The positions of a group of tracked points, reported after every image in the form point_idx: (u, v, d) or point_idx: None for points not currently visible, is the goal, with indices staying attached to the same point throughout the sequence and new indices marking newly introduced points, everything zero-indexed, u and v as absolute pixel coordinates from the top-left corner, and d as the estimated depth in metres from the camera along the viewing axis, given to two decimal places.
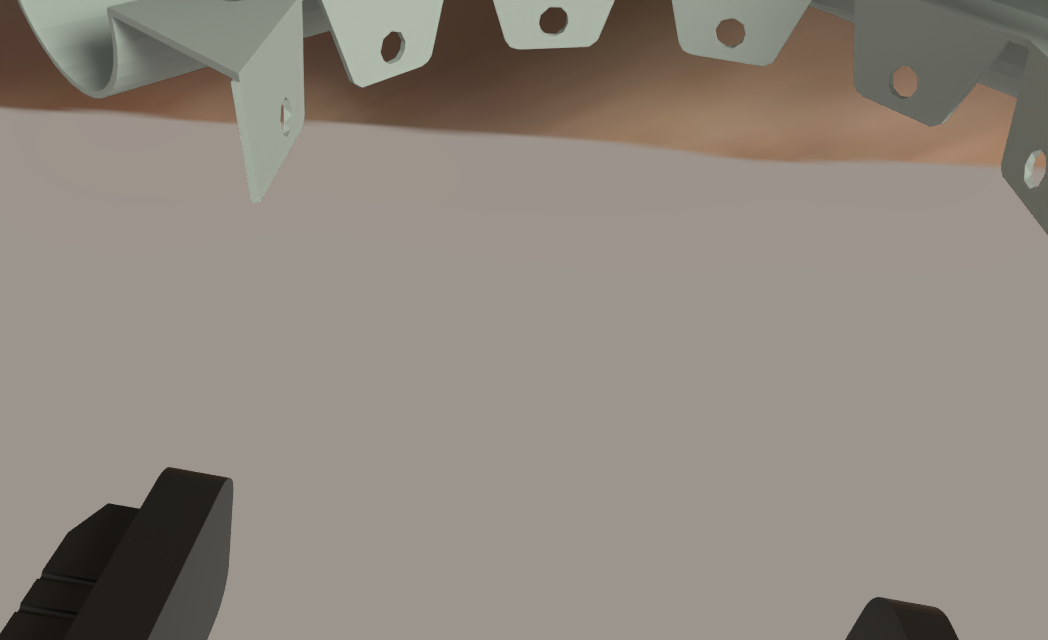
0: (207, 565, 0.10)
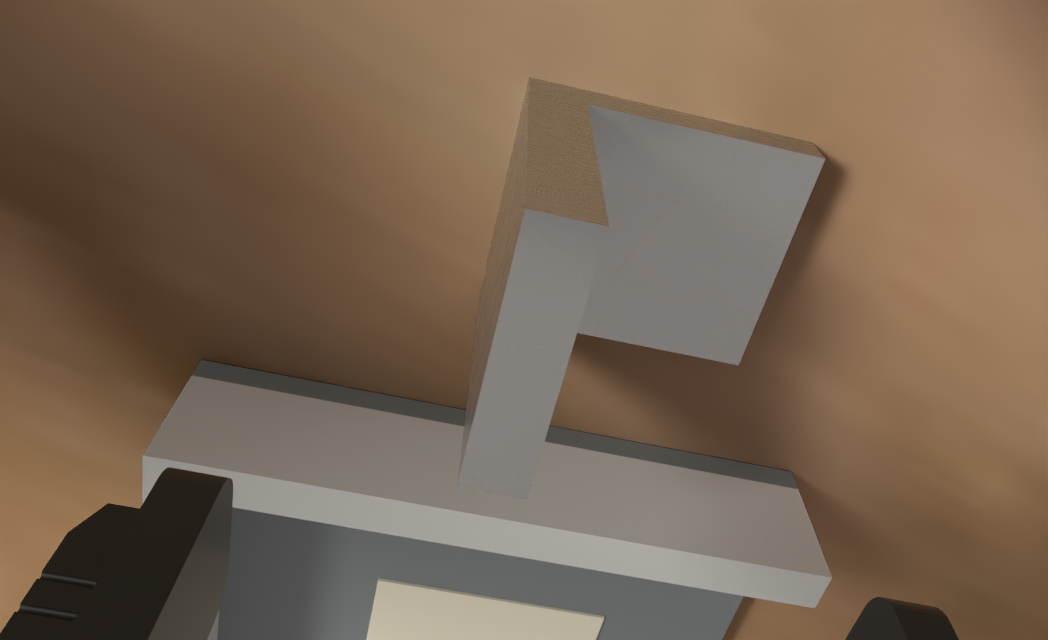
0: (207, 565, 0.10)
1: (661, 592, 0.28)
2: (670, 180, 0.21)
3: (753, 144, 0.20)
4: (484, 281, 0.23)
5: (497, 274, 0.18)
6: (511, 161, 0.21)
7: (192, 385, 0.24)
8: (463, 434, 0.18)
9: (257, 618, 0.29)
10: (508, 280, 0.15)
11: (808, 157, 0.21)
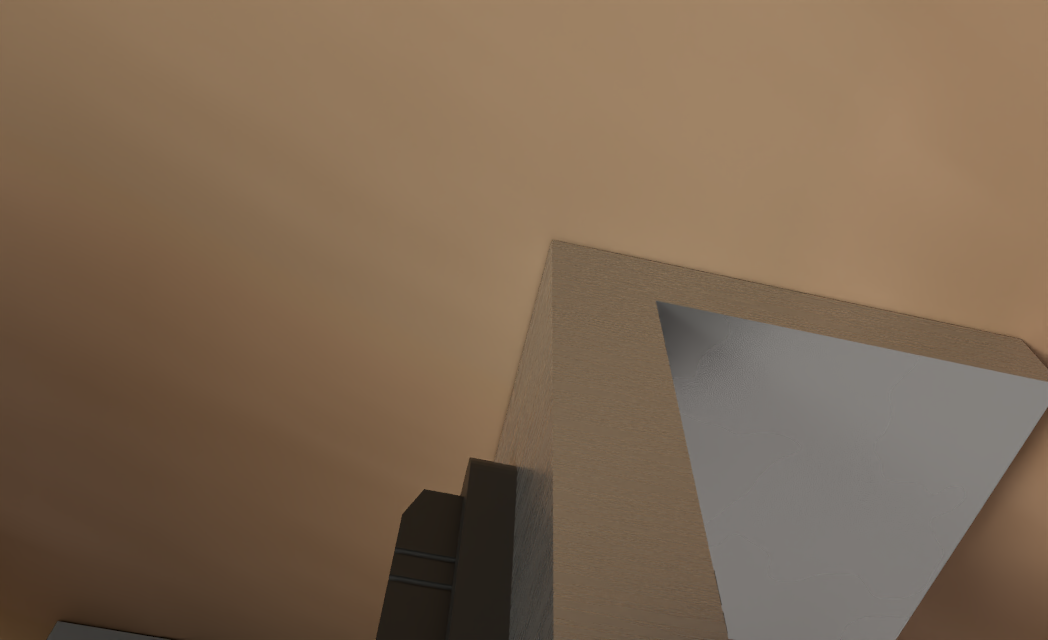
0: None
1: None
2: (791, 414, 0.12)
3: (938, 363, 0.12)
4: None
5: None
6: (521, 376, 0.13)
7: None
8: None
9: None
10: None
11: (1032, 382, 0.12)
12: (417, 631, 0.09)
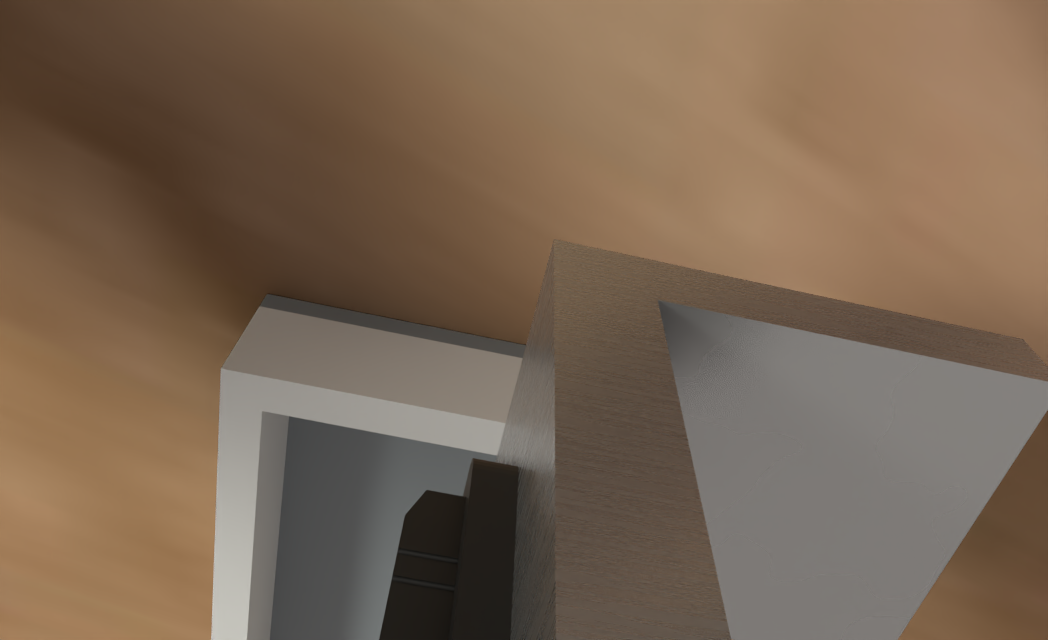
0: None
1: None
2: (793, 414, 0.12)
3: (940, 363, 0.12)
4: None
5: None
6: (523, 375, 0.13)
7: (260, 314, 0.27)
8: None
9: (313, 540, 0.32)
10: None
11: (1034, 383, 0.12)
12: (420, 632, 0.09)
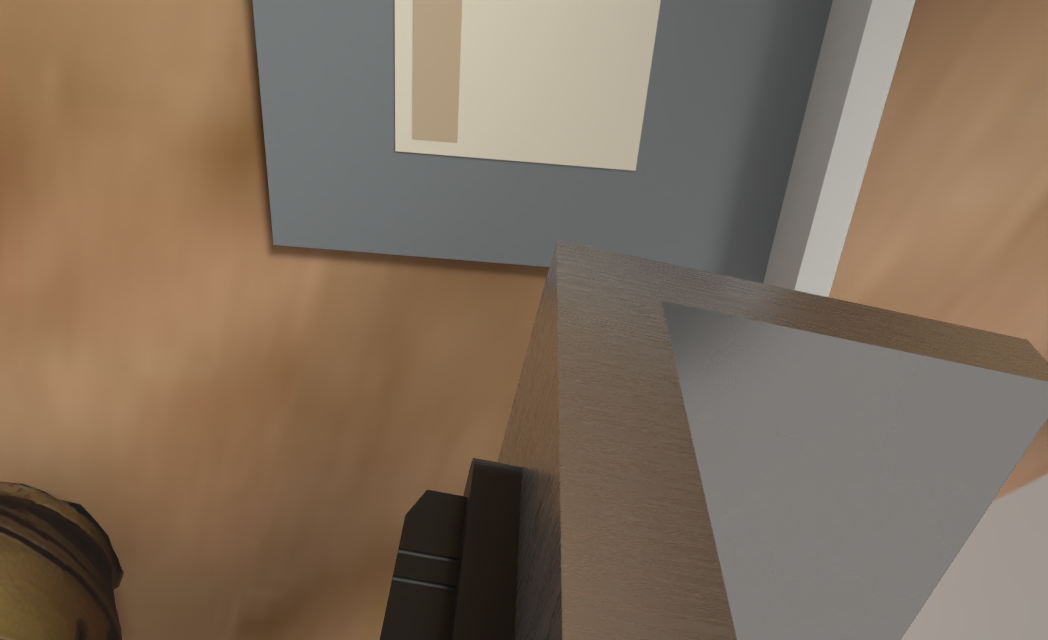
0: None
1: (670, 211, 0.32)
2: (797, 415, 0.12)
3: (945, 364, 0.12)
4: None
5: None
6: (526, 376, 0.13)
7: None
8: None
9: None
10: None
11: (1039, 384, 0.12)
12: (420, 632, 0.09)
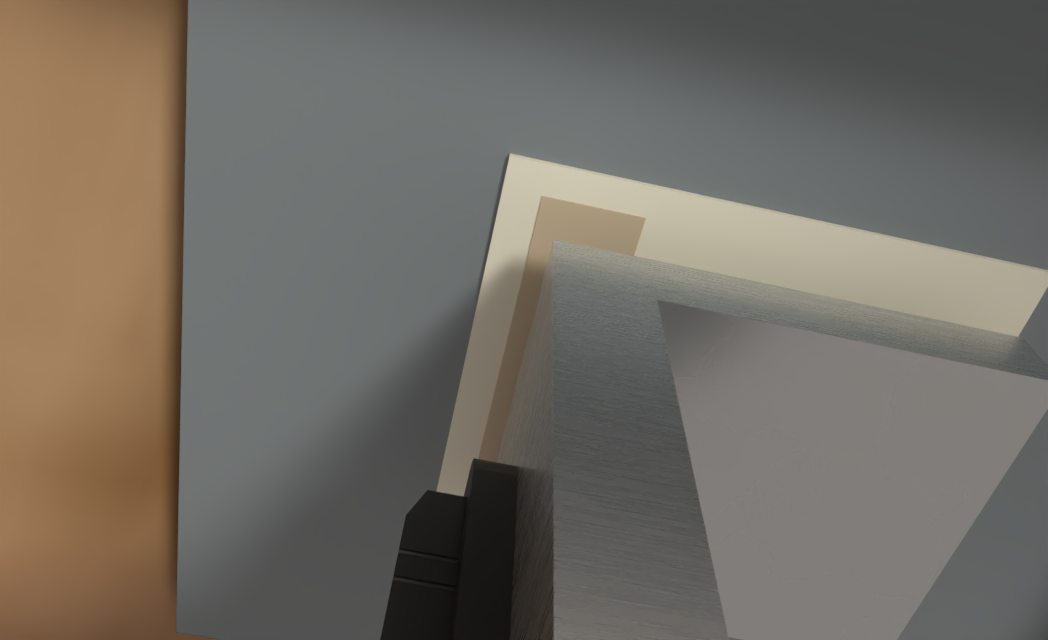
0: None
1: None
2: (792, 413, 0.12)
3: (940, 362, 0.12)
4: None
5: None
6: (523, 375, 0.13)
7: None
8: None
9: None
10: None
11: (1034, 381, 0.12)
12: (421, 632, 0.09)
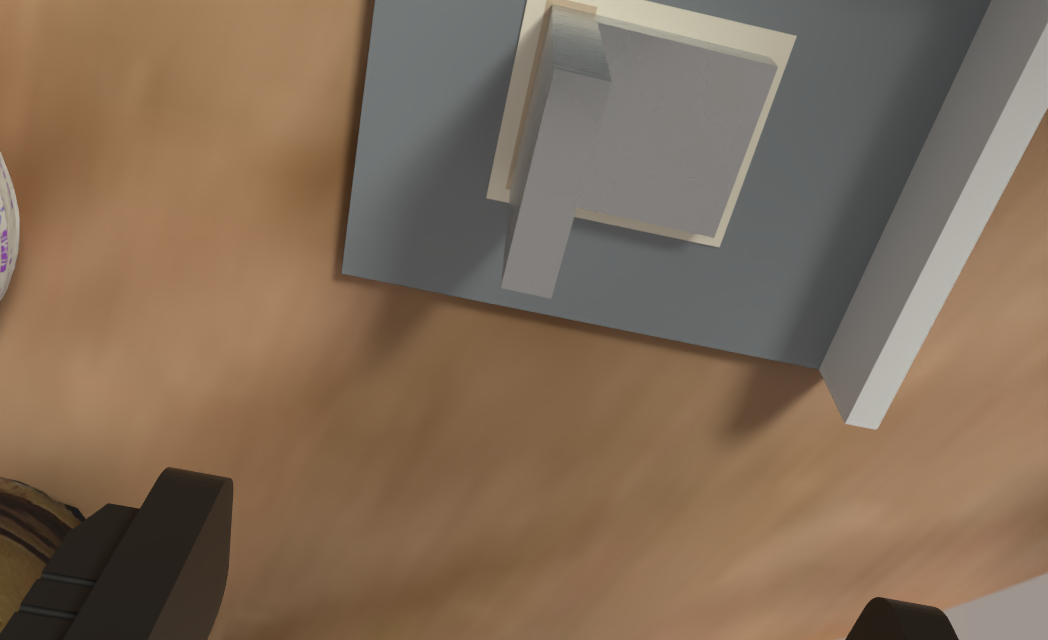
0: (207, 565, 0.10)
1: (744, 290, 0.32)
2: (660, 83, 0.27)
3: (722, 54, 0.27)
4: (515, 167, 0.29)
5: (530, 138, 0.24)
6: (538, 69, 0.28)
7: None
8: (503, 260, 0.25)
9: None
10: (541, 122, 0.21)
11: (765, 65, 0.27)
12: None
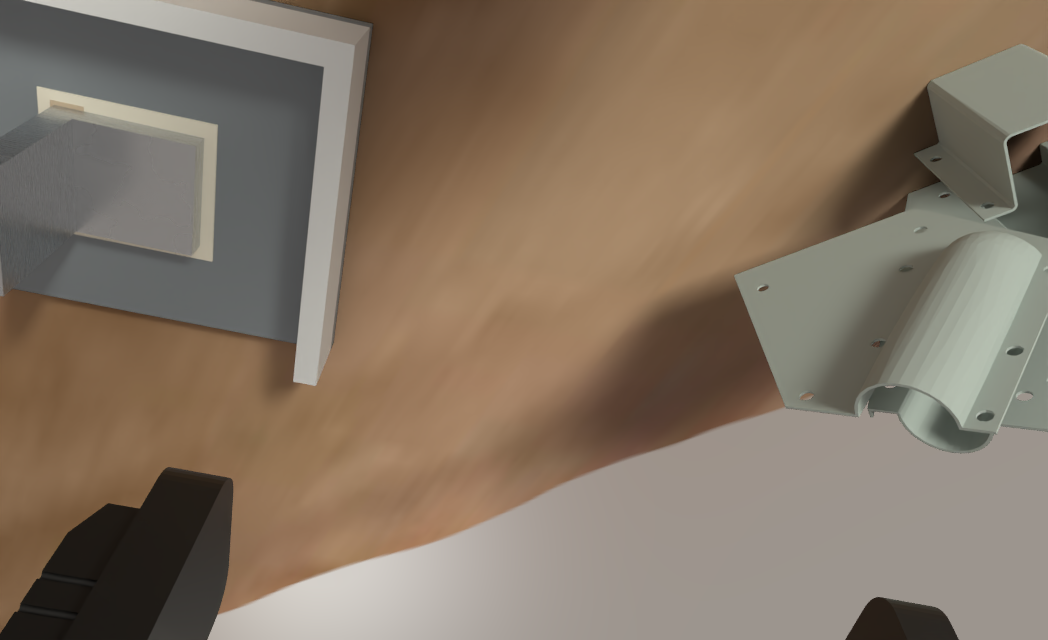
0: (207, 565, 0.10)
1: (240, 291, 0.47)
2: (123, 156, 0.42)
3: (158, 139, 0.41)
4: None
5: None
6: None
7: (367, 33, 0.40)
8: None
9: (158, 35, 0.40)
10: None
11: (187, 145, 0.42)
12: None
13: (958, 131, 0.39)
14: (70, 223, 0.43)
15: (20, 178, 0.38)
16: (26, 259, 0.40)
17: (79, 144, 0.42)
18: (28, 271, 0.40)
